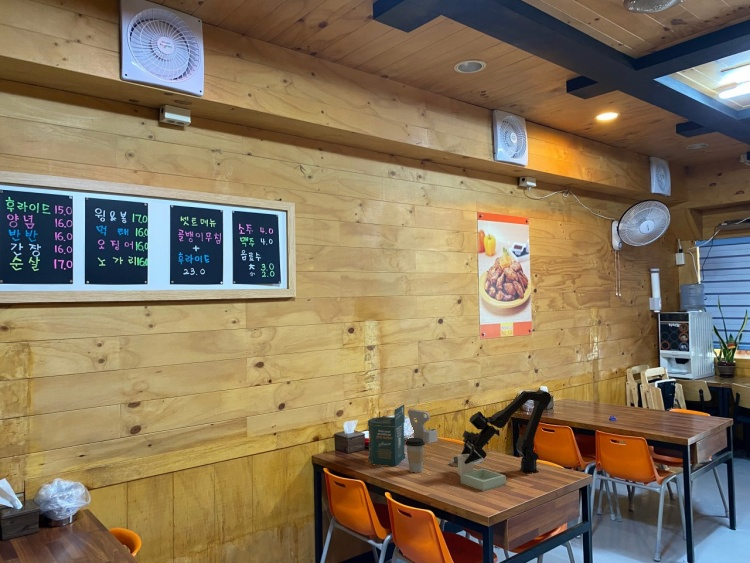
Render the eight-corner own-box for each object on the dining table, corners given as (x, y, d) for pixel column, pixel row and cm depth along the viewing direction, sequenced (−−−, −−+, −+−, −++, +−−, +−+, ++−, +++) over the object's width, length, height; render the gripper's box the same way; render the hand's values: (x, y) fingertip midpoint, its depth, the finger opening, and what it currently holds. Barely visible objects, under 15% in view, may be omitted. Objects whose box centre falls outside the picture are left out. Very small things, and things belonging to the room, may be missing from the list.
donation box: (395, 466, 281) (394, 409, 282) (365, 464, 286) (364, 408, 287) (405, 458, 296) (404, 404, 297) (376, 455, 301) (375, 402, 302)
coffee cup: (428, 469, 275) (427, 438, 276) (421, 475, 266) (420, 442, 267) (409, 467, 279) (409, 436, 279) (402, 472, 270) (402, 441, 271)
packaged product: (469, 448, 296) (485, 452, 289) (470, 458, 296) (486, 461, 289) (448, 455, 283) (464, 459, 276) (448, 465, 283) (464, 469, 276)
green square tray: (482, 477, 262) (482, 468, 262) (505, 484, 251) (505, 475, 251) (460, 482, 254) (460, 473, 254) (483, 491, 242) (483, 481, 243)
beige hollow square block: (469, 473, 268) (469, 454, 269) (473, 476, 263) (472, 457, 263) (458, 473, 267) (457, 454, 268) (461, 477, 262) (461, 457, 262)
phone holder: (439, 440, 332) (438, 409, 333) (427, 443, 325) (427, 412, 326) (417, 435, 345) (417, 406, 346) (406, 438, 338) (405, 408, 339)
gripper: (466, 420, 276) (445, 444, 274) (479, 429, 257) (456, 454, 255) (482, 436, 277) (461, 460, 275) (496, 445, 258) (473, 471, 256)
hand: (462, 461), depth 265 cm, fingers open, 7 cm apart
